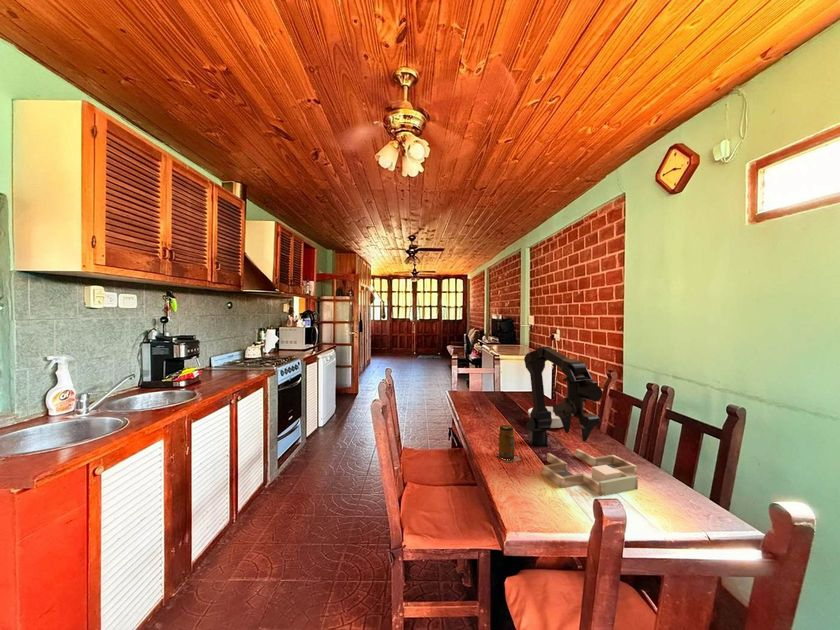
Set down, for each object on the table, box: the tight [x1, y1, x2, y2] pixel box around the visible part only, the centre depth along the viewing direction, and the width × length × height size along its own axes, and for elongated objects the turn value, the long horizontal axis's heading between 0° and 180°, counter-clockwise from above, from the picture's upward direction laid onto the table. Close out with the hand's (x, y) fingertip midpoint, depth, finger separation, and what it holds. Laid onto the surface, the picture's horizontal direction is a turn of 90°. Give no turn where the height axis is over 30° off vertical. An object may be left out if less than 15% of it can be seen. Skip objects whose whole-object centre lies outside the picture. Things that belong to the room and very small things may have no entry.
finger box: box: [546, 448, 639, 496], centre depth 127 cm, size 27×14×4 cm, turn 17°
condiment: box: [493, 424, 522, 463], centre depth 142 cm, size 7×8×12 cm
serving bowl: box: [527, 405, 564, 429], centre depth 181 cm, size 21×21×7 cm
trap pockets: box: [541, 454, 638, 489], centre depth 127 cm, size 10×32×3 cm, turn 107°
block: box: [591, 465, 620, 482], centre depth 120 cm, size 6×6×5 cm
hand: (575, 437), depth 134 cm, fingers open, 9 cm apart
